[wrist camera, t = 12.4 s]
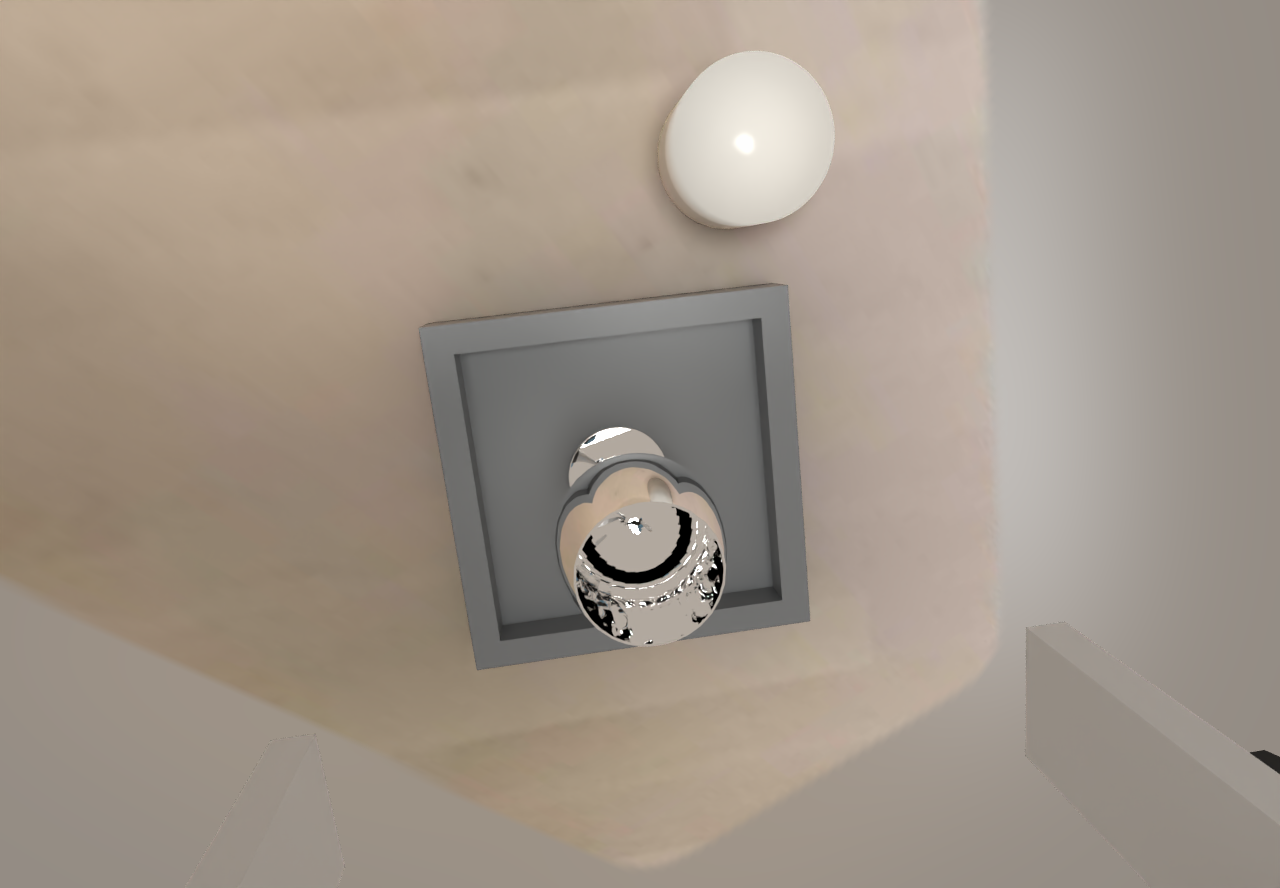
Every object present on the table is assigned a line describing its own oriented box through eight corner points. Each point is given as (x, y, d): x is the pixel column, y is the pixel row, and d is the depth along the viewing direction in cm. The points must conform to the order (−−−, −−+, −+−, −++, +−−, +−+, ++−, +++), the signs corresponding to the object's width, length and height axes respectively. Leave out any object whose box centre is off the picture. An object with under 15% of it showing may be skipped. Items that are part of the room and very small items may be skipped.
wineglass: (529, 499, 36) (518, 612, 24) (594, 386, 35) (616, 447, 24) (640, 558, 37) (681, 693, 25) (706, 450, 36) (780, 539, 25)
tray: (482, 643, 38) (476, 670, 36) (428, 323, 35) (418, 328, 32) (793, 598, 39) (810, 621, 37) (771, 283, 36) (787, 284, 33)
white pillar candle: (665, 236, 35) (682, 232, 30) (649, 88, 34) (665, 59, 29) (800, 220, 36) (839, 214, 31) (790, 73, 34) (829, 42, 29)
